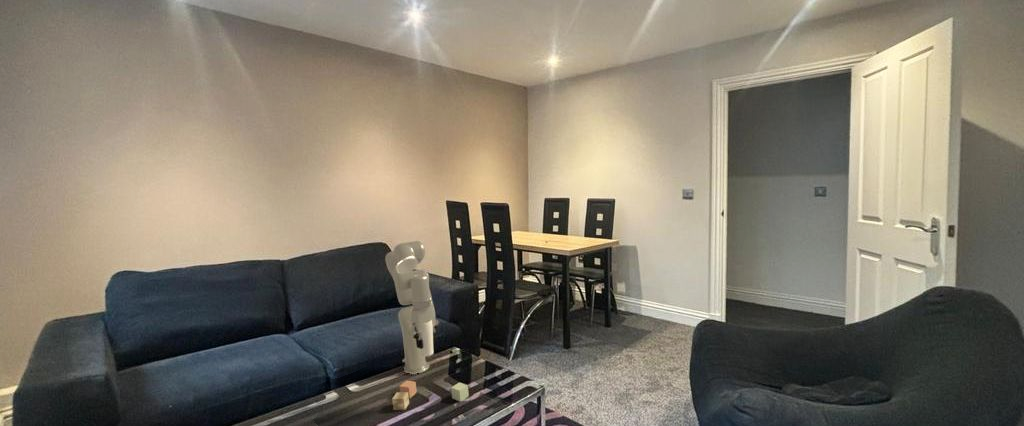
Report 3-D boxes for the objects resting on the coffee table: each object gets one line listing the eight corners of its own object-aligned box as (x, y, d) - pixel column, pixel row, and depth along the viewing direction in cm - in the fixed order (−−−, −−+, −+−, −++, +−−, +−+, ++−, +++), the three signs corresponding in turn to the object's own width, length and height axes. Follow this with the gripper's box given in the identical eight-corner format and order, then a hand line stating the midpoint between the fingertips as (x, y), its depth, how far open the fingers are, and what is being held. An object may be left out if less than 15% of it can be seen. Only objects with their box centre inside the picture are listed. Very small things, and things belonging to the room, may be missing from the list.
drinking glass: (420, 351, 195) (416, 318, 193) (436, 350, 195) (432, 316, 193) (418, 358, 188) (414, 324, 186) (434, 357, 189) (431, 322, 187)
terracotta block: (400, 396, 198) (399, 386, 197) (407, 390, 203) (406, 380, 202) (410, 398, 196) (408, 387, 195) (416, 392, 201) (415, 381, 200)
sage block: (452, 398, 193) (451, 387, 192) (460, 393, 197) (459, 382, 196) (460, 401, 190) (459, 390, 189) (468, 396, 194) (467, 385, 193)
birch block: (393, 410, 188) (392, 398, 187) (397, 403, 193) (396, 392, 192) (405, 410, 187) (403, 398, 187) (409, 403, 192) (408, 392, 191)
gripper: (431, 296, 198) (435, 335, 200) (399, 309, 184) (404, 350, 187) (443, 298, 193) (447, 338, 196) (411, 312, 180) (416, 354, 182)
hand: (426, 344), depth 191 cm, fingers closed on drinking glass, 6 cm apart
